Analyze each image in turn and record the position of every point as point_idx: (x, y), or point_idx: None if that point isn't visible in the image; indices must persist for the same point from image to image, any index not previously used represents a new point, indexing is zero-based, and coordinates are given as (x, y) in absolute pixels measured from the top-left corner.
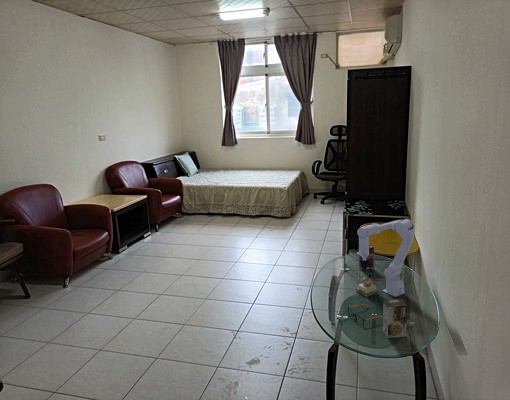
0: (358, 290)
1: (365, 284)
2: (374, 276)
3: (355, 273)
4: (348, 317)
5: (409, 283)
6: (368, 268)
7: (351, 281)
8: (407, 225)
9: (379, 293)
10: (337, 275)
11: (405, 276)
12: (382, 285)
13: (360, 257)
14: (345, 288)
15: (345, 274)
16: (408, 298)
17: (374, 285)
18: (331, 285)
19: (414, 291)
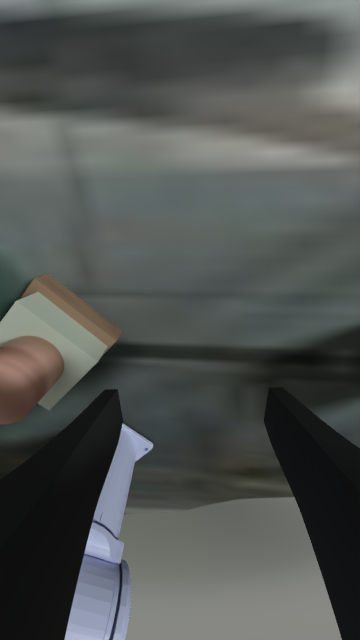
0: (26, 292)
1: None
2: (291, 383)
3: (357, 269)
4: None
5: (209, 499)
6: None
7: (209, 238)
8: None
9: (72, 393)
10: (338, 91)
11: (283, 496)
12: (172, 411)
13: (355, 493)
14: (75, 190)
15: (350, 181)
16: None
17: (52, 403)
18: (99, 31)
19: (134, 504)
